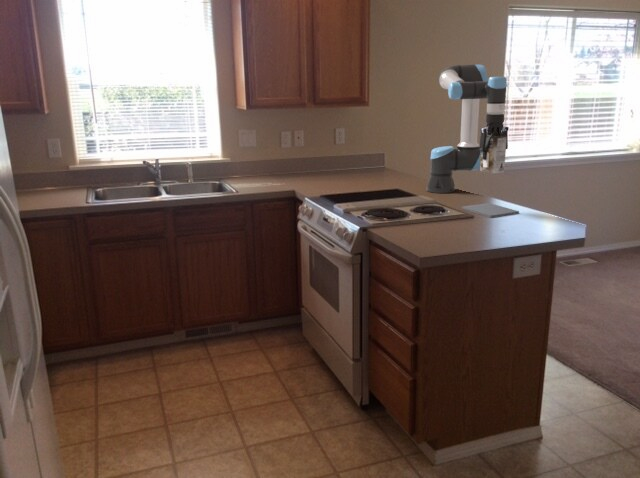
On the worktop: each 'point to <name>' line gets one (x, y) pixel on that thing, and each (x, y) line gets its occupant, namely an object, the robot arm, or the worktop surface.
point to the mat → (490, 210)
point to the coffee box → (495, 155)
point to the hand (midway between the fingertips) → (492, 166)
